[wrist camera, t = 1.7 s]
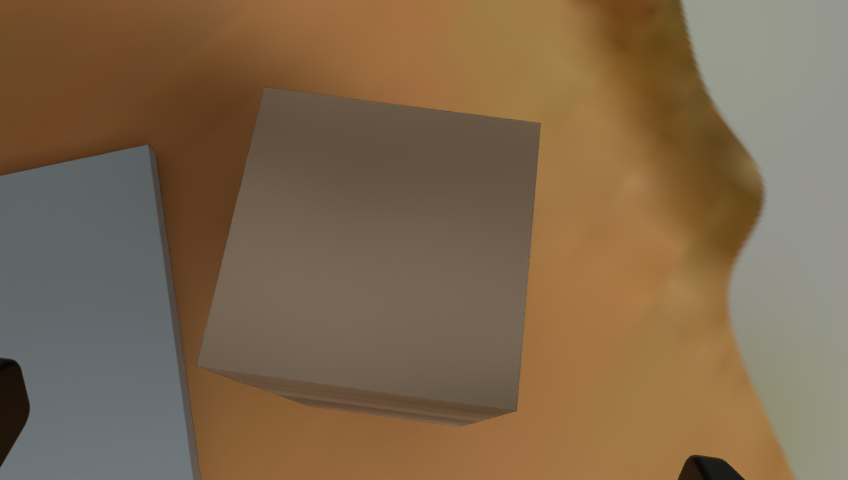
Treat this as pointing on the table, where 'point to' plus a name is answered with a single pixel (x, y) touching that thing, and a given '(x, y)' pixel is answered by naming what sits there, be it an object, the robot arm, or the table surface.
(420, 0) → the table surface
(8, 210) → the slate coaster
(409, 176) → the walnut pillar
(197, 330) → the table surface
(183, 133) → the table surface
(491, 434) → the table surface
